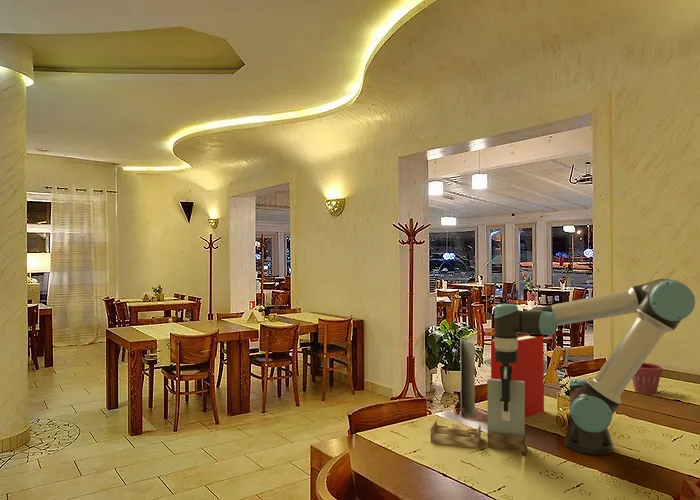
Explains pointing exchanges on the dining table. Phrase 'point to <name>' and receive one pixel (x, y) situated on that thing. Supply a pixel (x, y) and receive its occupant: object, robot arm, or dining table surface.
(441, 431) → the tray
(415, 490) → the dining table surface
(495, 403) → the grey panel
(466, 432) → the offcut
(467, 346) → the tall grey block
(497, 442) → the stand
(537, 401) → the book
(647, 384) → the plant pot
